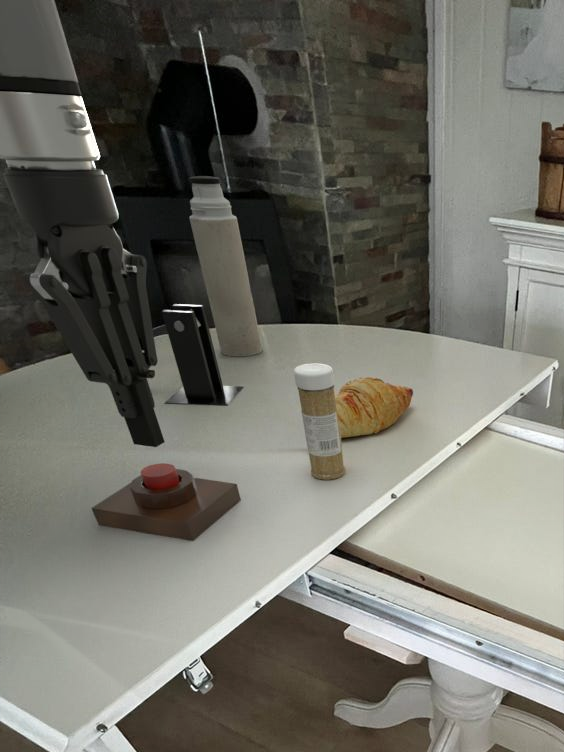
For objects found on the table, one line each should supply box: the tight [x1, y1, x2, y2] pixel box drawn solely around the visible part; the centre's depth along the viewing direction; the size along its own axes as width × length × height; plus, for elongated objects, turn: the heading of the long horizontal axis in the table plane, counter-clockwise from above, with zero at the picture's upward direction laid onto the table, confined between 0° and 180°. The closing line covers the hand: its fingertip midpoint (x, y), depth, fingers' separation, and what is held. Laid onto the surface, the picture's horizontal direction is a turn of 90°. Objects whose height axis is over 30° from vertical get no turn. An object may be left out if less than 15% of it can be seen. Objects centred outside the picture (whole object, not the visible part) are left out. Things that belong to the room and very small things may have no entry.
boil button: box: [140, 462, 180, 490], centre depth 66 cm, size 4×4×2 cm
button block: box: [91, 468, 242, 542], centre depth 68 cm, size 12×10×4 cm
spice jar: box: [293, 363, 346, 481], centre depth 74 cm, size 5×5×13 cm
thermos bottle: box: [189, 175, 263, 358], centre depth 110 cm, size 8×8×28 cm
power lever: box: [152, 309, 201, 338], centre depth 90 cm, size 12×5×2 cm, turn 91°
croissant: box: [334, 377, 414, 439], centre depth 90 cm, size 21×10×8 cm, turn 144°
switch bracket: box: [161, 303, 245, 407], centre depth 93 cm, size 10×9×14 cm
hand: (149, 442), depth 64 cm, fingers closed
